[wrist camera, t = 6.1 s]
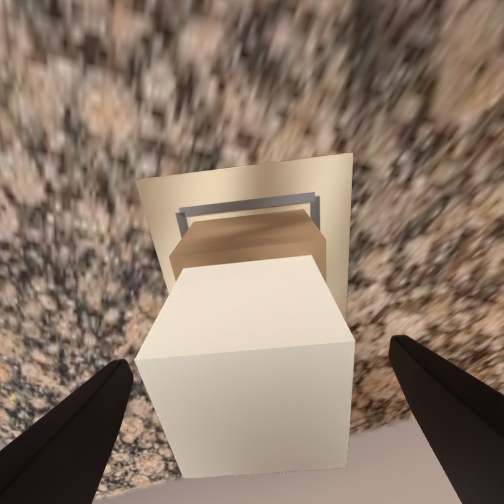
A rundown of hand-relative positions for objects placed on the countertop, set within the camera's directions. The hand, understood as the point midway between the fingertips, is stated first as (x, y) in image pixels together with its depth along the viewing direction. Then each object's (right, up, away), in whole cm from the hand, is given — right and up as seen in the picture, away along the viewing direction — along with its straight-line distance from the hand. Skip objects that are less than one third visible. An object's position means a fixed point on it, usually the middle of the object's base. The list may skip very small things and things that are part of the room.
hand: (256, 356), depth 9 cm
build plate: (0, +3, +7) cm, 7 cm away
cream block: (0, +1, +2) cm, 2 cm away
